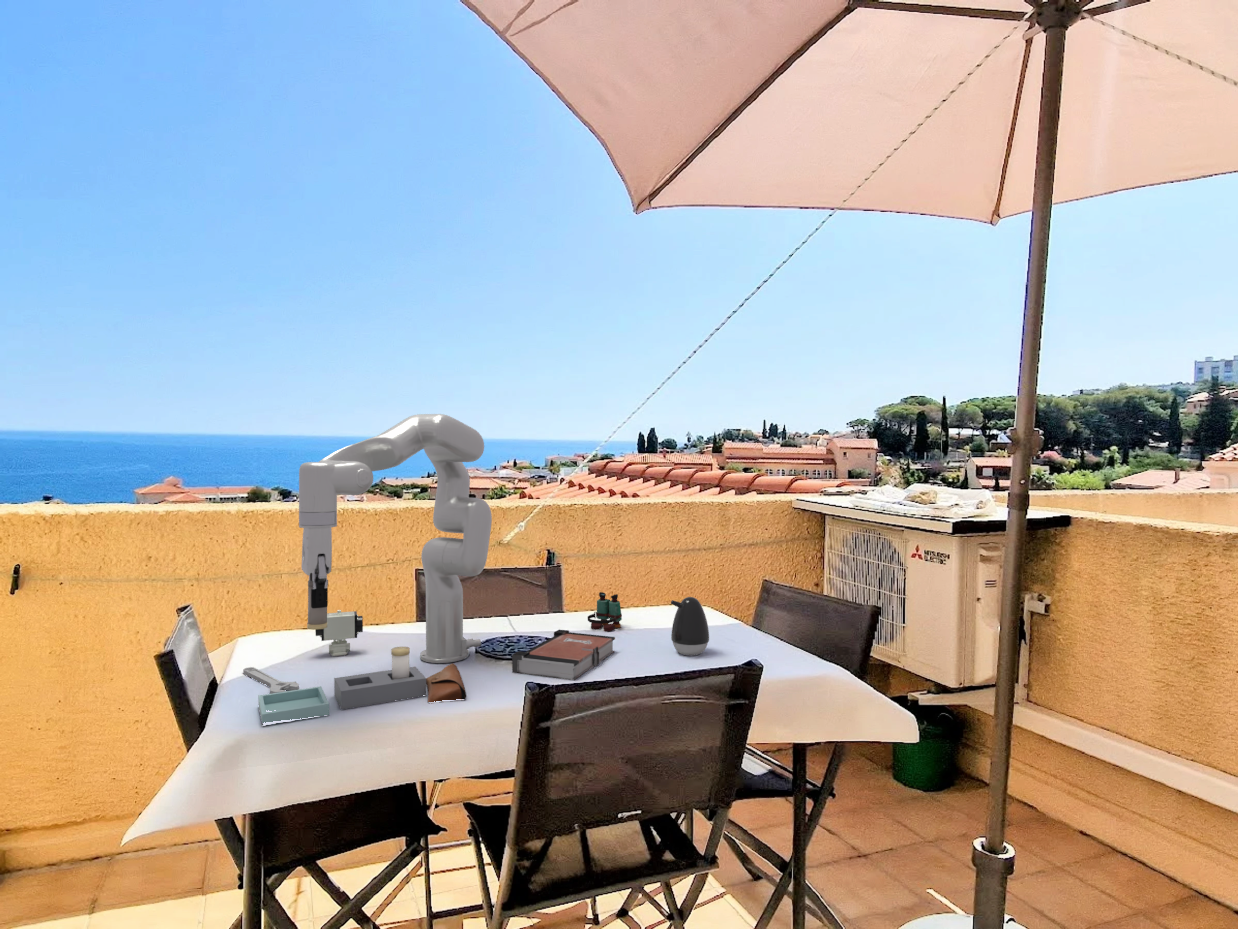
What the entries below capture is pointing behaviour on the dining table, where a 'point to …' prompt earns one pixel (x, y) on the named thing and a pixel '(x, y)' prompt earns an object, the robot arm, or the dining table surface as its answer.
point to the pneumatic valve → (341, 631)
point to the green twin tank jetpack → (606, 613)
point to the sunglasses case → (446, 685)
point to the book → (563, 655)
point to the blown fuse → (316, 612)
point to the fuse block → (377, 688)
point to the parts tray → (293, 704)
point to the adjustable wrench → (270, 681)
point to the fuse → (400, 662)
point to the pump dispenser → (689, 627)
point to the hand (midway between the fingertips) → (317, 604)
